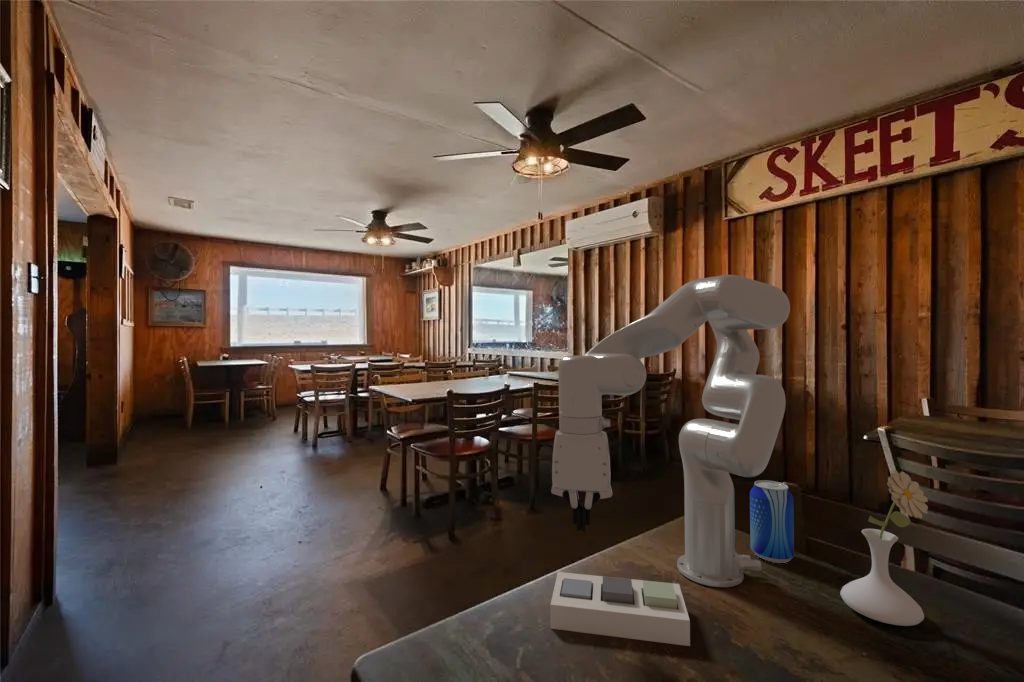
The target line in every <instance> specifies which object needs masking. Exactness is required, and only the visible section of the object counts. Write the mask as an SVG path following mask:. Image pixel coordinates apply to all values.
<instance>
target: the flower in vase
mask: <svg viewBox="0 0 1024 682" xmlns="http://www.w3.org/2000/svg"><path fill="white" fill-rule="evenodd" d="M886 483H887V486H888V491H889V494H891V496H890V497H891V501H893V502H892V504H891V505H890V508H889V510H888V513H887V516H886V518H885V521H881V520H879V519H876V518H875V517H873V516H872V515H869V517H868V522H869V523H872V524H873V525H876V526H877V525H878V526H880V527H881V529H876V528H864V529H862V530H861V533H862V535H863V536H864V537H865V539H866V540H867V543H868V545H869V546H868V547H869V548H870V554H871V569H870V571H869V573H868V574H867V575H865V576H864V577H861V578H857V579H854V580H851V581H849V582H848V583H846V584H845V585H843V586H842V587H841V590H840V592H839V593H840V597H841V599H842V600H843V601H844V604H846V605H847V606H848V607H849V608H851V609H852V610H854V611H855V612H857V613H859V614H860V615H863V616H865V617H867V618H869V619H872V620H874V621H878V622H880V623H884V624H889V625H893V626H894V625H895V626H903V627H911V626H917V625H919V624H920V623H921V622H923V621H924V619H925V614H924V611H923V609H922V607H921V606H920V604H918V603H917V601H916V600H914V599H913V597H912V596H910V595H909V594H908V593H907V592H906V591H904V590H903V589H902V588H901V587H900V586H898V585H897V584H896V583H895V582H894V581H893V580H892V579H891V577H890V572H889V557H890V552H891V548H892V547H893V545H894V544H895V543H896V542H897V541H898V540H899V537H898V536H897V535H896V534H893V533H891V532H889V531H885V529H886V526H887V525H888V522H889V520H891V521H892V522H893V523H894V524H895V525H896V526H897V527H899V528H905V527H907V526H909V525H910V524H911V523H912V522H911V519H910V518H909V517H908V516H910V517H914V518H916V519H918V518H919V519H923V513H924V514H926V515H927V514H928V509H929V507H928V505H927V504H926V503H928V501H929V499H928V497H926V496H925V495H924V494H925V493H924V491H923V490H922V489H921V488H920V484H919V482H917V481H913V480H912V478H911V477H910V476H909V474H908V473H906V472H904V471H900V472H898V470H893V472H891V473H890V476H887V482H886ZM895 505H896V506H897V507H898V508H899V509H900V511H901V512H900V511H894V512H893V510H894V507H895ZM905 514H907V515H908V516H907V515H905Z"/></svg>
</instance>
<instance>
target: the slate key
mask: <svg viewBox="0 0 1024 682" xmlns="http://www.w3.org/2000/svg"><path fill="white" fill-rule="evenodd" d="M561 597H569V598H578V599H587V600H592V581H587V580H577V579H568V578H564V581H563V586H562V592H561Z"/></svg>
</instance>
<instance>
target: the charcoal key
mask: <svg viewBox="0 0 1024 682" xmlns="http://www.w3.org/2000/svg"><path fill="white" fill-rule="evenodd" d="M602 598H603V601H605V602H614V603H623V604H632V605H633V591H632V581H631V578H624V579H623V577H614V578H613V576H611V577H610V576H604V577H603V589H602Z"/></svg>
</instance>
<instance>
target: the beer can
mask: <svg viewBox="0 0 1024 682" xmlns="http://www.w3.org/2000/svg"><path fill="white" fill-rule="evenodd" d="M779 484H781V485H779ZM794 505H795V504H794V497H793V495H792V493H791V492H790V490H789V486H788V485H787V484H786V483H783V482H779V481H774V480H767V479H766V480H764V479H763V480H756V481H754V484H753V486H752V487H751V489H750V491H749V526H750V527H749V529H750V530H749V531H750V534H749V535H750V536H749V537H750V538H749V539H750V541H749V542H750V543H749V547H750V550H751V551H752V552H753V553H755V554H754V556H755V555H757V556H758V557H760V558H762V559H765V560H768V561H772V562H777V563H786V562H789V561H791V560H792V559H793V558H794V557H795V533H794V532H795V527H794V525H795V523H794V520H795V519H794V518H795V517H794V515H795V514H794V508H795V507H794ZM758 557H757V558H758ZM789 563H790V562H789ZM786 564H787V563H786Z"/></svg>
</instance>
